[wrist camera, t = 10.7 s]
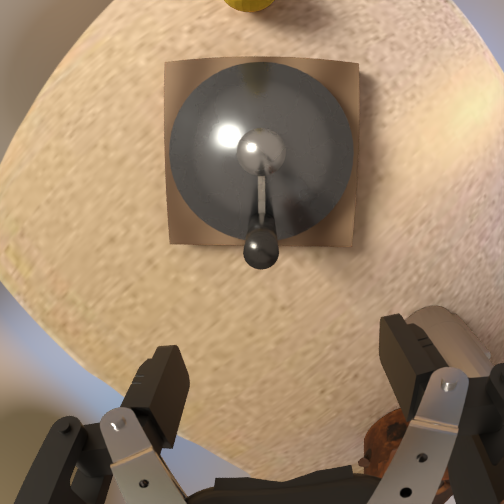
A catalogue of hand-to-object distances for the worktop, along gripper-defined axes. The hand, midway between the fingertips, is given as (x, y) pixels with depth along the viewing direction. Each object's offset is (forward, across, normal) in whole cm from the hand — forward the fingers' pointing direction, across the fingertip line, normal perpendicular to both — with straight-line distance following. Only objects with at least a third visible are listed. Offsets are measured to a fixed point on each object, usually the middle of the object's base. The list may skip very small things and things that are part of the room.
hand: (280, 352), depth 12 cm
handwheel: (+19, 0, -7) cm, 20 cm away
